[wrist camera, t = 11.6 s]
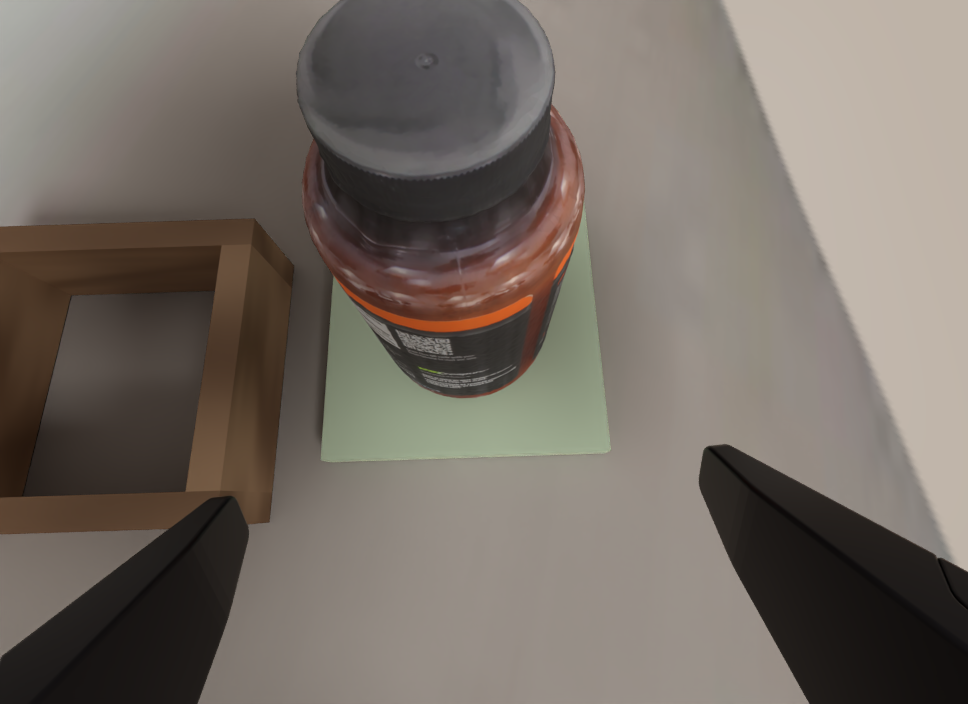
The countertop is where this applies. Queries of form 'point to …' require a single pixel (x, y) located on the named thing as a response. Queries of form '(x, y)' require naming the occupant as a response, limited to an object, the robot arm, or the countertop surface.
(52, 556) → the countertop surface
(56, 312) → the walnut collar
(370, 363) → the sage rubber mat
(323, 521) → the countertop surface
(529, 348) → the supplement bottle
